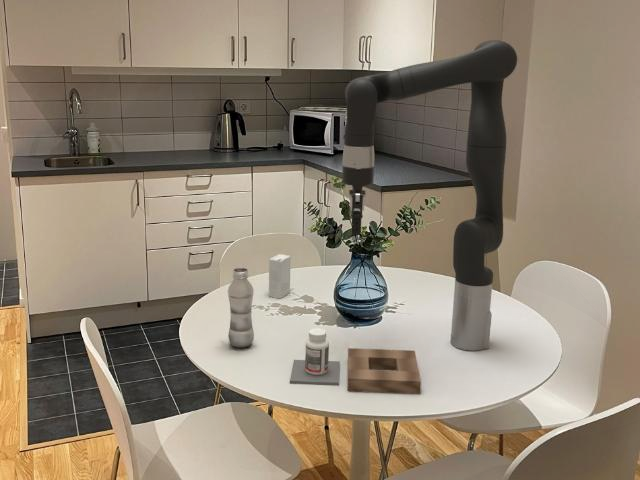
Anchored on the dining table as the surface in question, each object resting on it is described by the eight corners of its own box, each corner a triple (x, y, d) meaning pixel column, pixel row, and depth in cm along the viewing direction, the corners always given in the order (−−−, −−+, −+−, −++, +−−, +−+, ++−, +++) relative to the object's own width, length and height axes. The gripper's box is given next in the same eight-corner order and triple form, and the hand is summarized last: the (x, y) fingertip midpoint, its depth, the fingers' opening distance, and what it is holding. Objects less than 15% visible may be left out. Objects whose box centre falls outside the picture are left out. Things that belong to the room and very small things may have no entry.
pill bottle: (318, 363, 168) (320, 325, 166) (332, 371, 164) (334, 332, 162) (300, 369, 165) (301, 330, 163) (314, 377, 161) (315, 338, 158)
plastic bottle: (254, 339, 182) (254, 265, 177) (253, 350, 176) (252, 274, 170) (229, 339, 182) (228, 265, 177) (227, 350, 176) (225, 274, 170)
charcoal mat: (339, 363, 170) (339, 361, 170) (338, 385, 159) (338, 382, 159) (293, 361, 170) (293, 359, 170) (289, 383, 160) (290, 380, 160)
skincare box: (278, 290, 218) (278, 253, 215) (290, 293, 216) (291, 255, 213) (267, 296, 213) (267, 258, 209) (280, 299, 211) (280, 260, 207)
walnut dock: (414, 361, 172) (414, 350, 171) (420, 393, 156) (420, 381, 155) (347, 359, 172) (348, 348, 171) (347, 390, 157) (347, 378, 156)
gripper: (343, 158, 176) (341, 221, 181) (342, 168, 162) (340, 236, 167) (373, 159, 176) (370, 222, 180) (375, 169, 162) (372, 237, 167)
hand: (356, 229), depth 174 cm, fingers open, 8 cm apart
